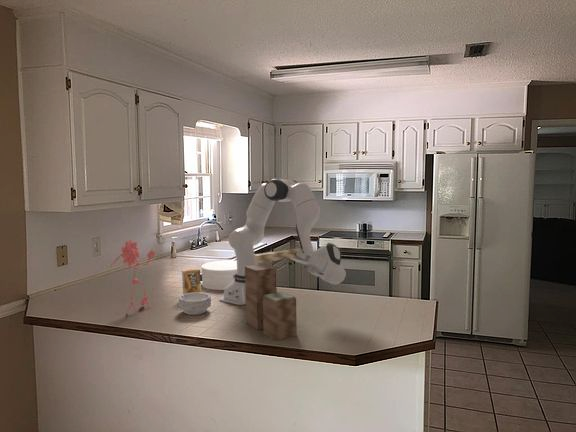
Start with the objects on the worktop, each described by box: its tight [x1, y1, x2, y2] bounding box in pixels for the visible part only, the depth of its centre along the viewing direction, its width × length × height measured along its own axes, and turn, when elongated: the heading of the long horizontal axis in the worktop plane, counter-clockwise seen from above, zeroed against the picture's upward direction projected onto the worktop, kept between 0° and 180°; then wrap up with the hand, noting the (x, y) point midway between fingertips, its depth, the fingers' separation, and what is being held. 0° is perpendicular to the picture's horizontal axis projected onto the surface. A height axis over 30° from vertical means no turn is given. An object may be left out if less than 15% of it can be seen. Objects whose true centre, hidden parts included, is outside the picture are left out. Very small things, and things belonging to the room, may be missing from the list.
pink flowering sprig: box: [110, 239, 160, 315], centre depth 232 cm, size 15×26×35 cm, turn 157°
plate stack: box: [201, 259, 237, 291], centre depth 282 cm, size 28×28×12 cm
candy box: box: [181, 268, 202, 295], centre depth 252 cm, size 9×4×15 cm, turn 119°
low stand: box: [263, 291, 298, 341], centre depth 197 cm, size 10×10×17 cm
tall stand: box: [245, 263, 277, 331], centre depth 209 cm, size 10×10×26 cm
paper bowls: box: [178, 292, 212, 316], centre depth 229 cm, size 15×15×8 cm
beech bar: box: [253, 247, 303, 264], centre depth 194 cm, size 22×3×3 cm, turn 124°
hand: (293, 252), depth 198 cm, fingers closed on beech bar, 3 cm apart
